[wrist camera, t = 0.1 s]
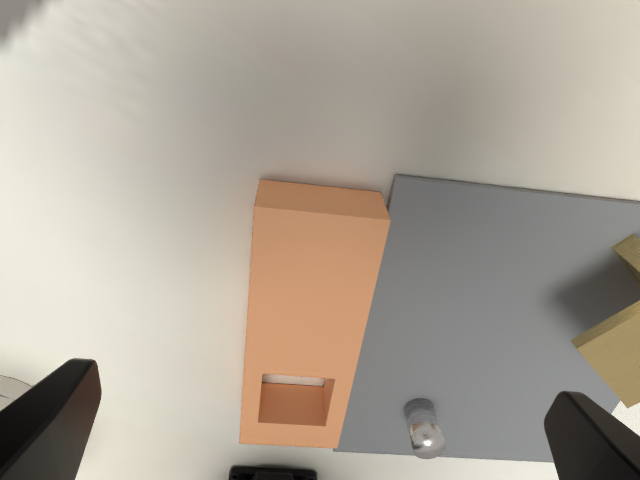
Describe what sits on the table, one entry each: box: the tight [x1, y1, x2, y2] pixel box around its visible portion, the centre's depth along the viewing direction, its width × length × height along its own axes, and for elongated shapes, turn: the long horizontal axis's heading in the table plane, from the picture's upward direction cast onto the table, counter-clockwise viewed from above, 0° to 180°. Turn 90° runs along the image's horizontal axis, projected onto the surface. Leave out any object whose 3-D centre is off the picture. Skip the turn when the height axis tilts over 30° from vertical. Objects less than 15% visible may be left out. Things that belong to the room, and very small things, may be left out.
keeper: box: [570, 234, 640, 408], centre depth 24 cm, size 6×6×4 cm
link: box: [239, 179, 391, 448], centre depth 25 cm, size 16×6×3 cm, turn 173°
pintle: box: [403, 398, 446, 459], centre depth 29 cm, size 2×2×3 cm
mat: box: [333, 175, 640, 463], centre depth 28 cm, size 21×18×1 cm
